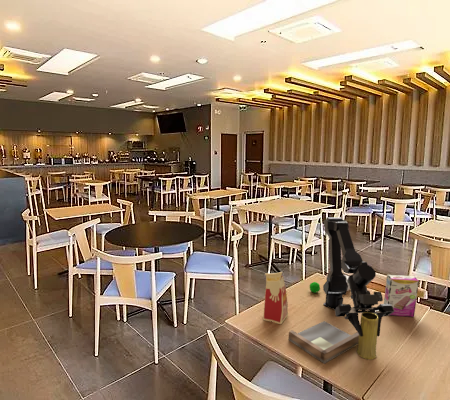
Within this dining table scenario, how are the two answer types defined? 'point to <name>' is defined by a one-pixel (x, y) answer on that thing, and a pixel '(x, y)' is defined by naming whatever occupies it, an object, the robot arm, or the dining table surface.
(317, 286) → the green pom pom ball
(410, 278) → the candy bar box
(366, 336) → the vase
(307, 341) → the arena
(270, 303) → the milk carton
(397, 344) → the dining table surface
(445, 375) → the dining table surface
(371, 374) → the dining table surface
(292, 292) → the dining table surface
